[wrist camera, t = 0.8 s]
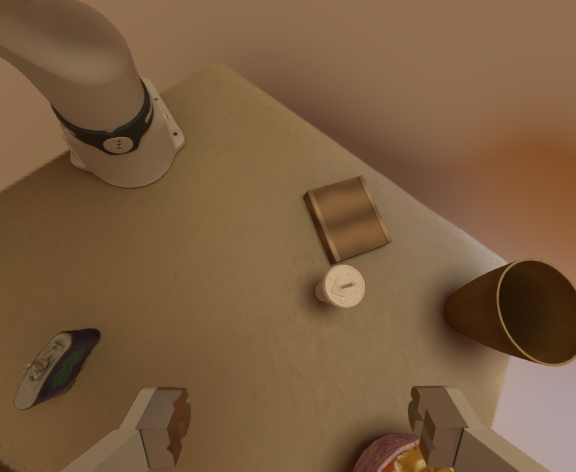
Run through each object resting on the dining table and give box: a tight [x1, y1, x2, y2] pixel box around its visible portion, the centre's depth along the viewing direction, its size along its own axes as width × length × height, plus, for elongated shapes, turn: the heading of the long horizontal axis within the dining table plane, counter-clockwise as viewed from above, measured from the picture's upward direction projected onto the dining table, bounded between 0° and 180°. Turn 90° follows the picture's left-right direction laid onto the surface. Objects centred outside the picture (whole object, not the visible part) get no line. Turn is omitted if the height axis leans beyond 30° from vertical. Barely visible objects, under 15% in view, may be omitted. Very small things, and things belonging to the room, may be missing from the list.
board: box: [304, 175, 392, 265], centre depth 56 cm, size 14×12×3 cm
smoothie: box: [315, 265, 365, 308], centre depth 47 cm, size 6×6×14 cm
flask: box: [14, 328, 101, 410], centre depth 38 cm, size 9×3×11 cm, turn 157°
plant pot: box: [445, 258, 576, 366], centre depth 50 cm, size 15×15×16 cm
